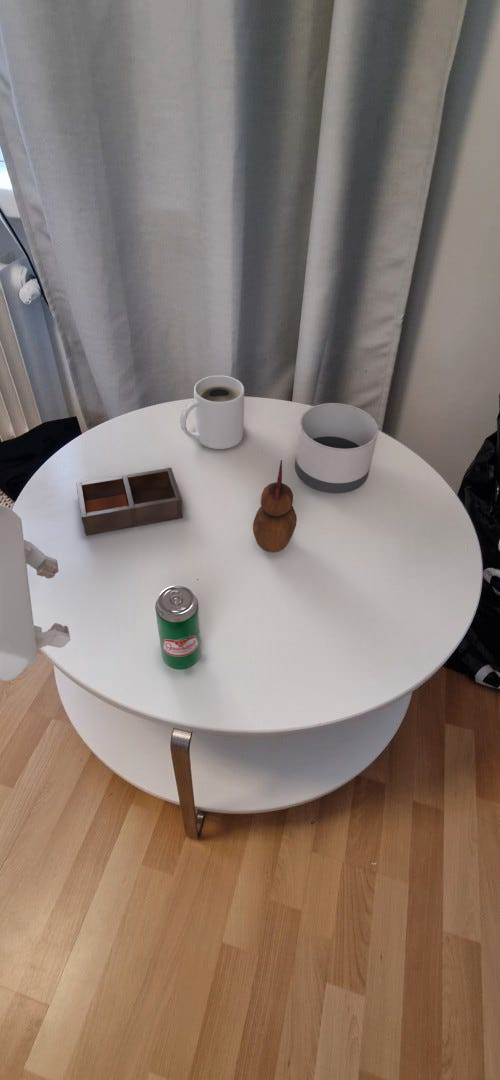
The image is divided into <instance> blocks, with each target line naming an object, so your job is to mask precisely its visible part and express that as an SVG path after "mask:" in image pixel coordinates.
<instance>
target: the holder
mask: <svg viewBox="0 0 500 1080" xmlns="http://www.w3.org/2000/svg"><path fill="white" fill-rule="evenodd" d="M75 485H76V492H77V498H78V504H79V506H78V507H79V512H80V518H81V522H82V527H83V531H84V535H85V537H89V536H94V535H98V534H104V533H109V532H110V533H111V532H116V531H121V530H126V529H133V528H137V527H143V526H148V525H153V524H159V523H164V522H170V521H176V520H180V519H184V513H183V511H184V510H183V499H182V496H181V493H180V490H179V487H178V484H177V480H176V477H175V474H174V472H173V468H172V467H166V468H159V469H153V470H146V471H141V472H135V473H129V474H123V475H117V476H111V477H104V478H98V479H93V480H86V481H82V482H76V484H75Z"/></svg>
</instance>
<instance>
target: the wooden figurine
mask: <svg viewBox="0 0 500 1080" xmlns="http://www.w3.org/2000/svg"><path fill="white" fill-rule="evenodd" d="M276 479H277V480H276V482H271V483H269V484H267V485H266V486H265V487H264V488H263V490H262V492H261V495H260V507H258V510H257V511H256V513H255V516H254V519H253V523H252V532H253V535H254V539H255V541H256V544H257V545H258V546H259V547H260V548H261V549H262V550H263V551H265V552H268V553H278V552H281V551H282V550H284V549H285V548H286V547H287V546H288V544H289V543H290V541H291V539H292V537H293V535H294V532H295V529H296V527H297V522H298V520H297V519H298V518H297V513H296V510H295V508H294V506H293V503H294V494H293V491H292V488H291V487H290V486H288V485H287V484H285V483H283V460H282V459H281V460H280V463H279V468H278V474H277V478H276Z"/></svg>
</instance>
